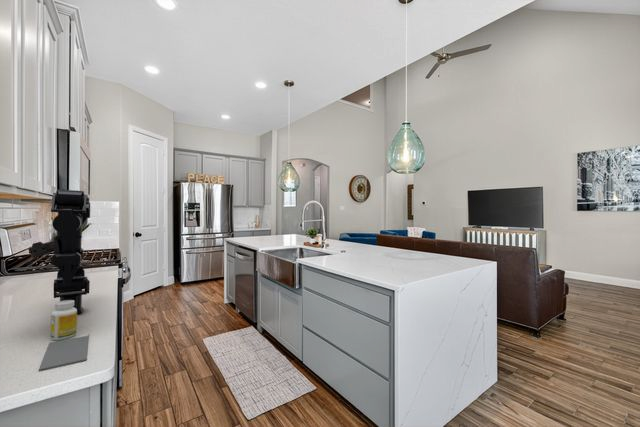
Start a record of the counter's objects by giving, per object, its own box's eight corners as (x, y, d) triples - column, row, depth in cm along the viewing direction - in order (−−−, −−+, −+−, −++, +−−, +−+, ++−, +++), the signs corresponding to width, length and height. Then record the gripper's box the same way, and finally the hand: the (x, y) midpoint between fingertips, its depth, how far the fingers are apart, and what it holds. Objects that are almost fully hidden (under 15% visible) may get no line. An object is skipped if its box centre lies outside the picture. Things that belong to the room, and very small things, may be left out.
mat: (49, 344, 74) (49, 342, 74) (88, 336, 79) (88, 335, 79) (38, 371, 62) (38, 369, 62) (86, 360, 67) (86, 358, 67)
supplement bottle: (44, 341, 76) (45, 305, 76) (60, 332, 81) (62, 299, 82) (66, 340, 77) (67, 304, 77) (81, 332, 82) (82, 299, 82)
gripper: (37, 230, 88) (35, 281, 88) (24, 234, 73) (22, 295, 73) (84, 230, 95) (82, 277, 95) (81, 233, 80) (79, 289, 80)
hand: (67, 283), depth 86 cm, fingers open, 5 cm apart
